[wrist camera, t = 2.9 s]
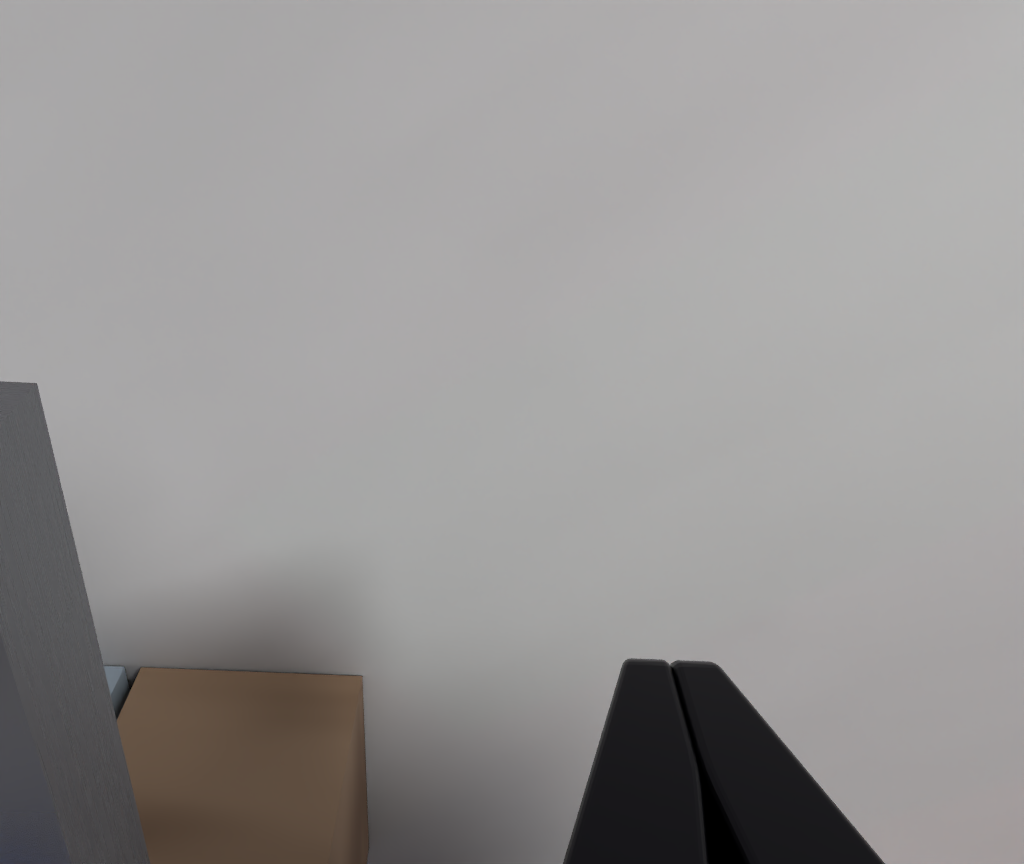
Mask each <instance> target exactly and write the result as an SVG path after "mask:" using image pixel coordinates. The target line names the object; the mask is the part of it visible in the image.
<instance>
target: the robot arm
mask: <svg viewBox="0 0 1024 864" xmlns="http://www.w3.org/2000/svg"><path fill="white" fill-rule="evenodd" d="M563 864H885V863H884V862H883V861H882V860H881V858H880V857H879V856H878V855H877V854H876V853H875V851H874V850H873V849H872V848H871V847H870V845H869V844H868V843H867V842H866V841H865V839H864V838H863V837H862V836H861V835H860V833H859V832H858V831H857V830H856V829H855V827H854V826H853V825H852V824H851V823H850V821H849V820H848V819H847V818H846V817H845V816H844V814H843V813H842V812H841V811H840V810H839V808H838V807H837V806H836V805H835V804H834V802H833V801H832V800H831V799H830V798H829V796H828V795H827V794H826V793H825V792H824V790H823V789H822V788H821V787H820V786H819V784H818V783H817V782H816V781H815V780H814V778H813V777H812V776H811V775H810V774H809V773H808V771H807V770H806V769H805V768H804V767H803V765H802V764H801V763H800V762H799V761H798V759H797V758H796V757H795V756H794V755H793V753H792V752H791V751H790V750H789V749H788V747H787V746H786V745H785V744H784V743H783V741H782V740H781V739H780V738H779V737H778V736H777V734H776V733H775V732H774V731H773V730H772V728H771V727H770V726H769V725H768V724H767V722H766V721H765V720H764V719H763V718H762V716H761V715H760V714H759V713H758V712H757V710H756V709H755V708H754V707H753V706H752V704H751V703H750V702H749V701H748V700H747V698H746V697H745V696H744V695H743V694H742V693H741V691H740V690H739V689H738V688H737V687H736V685H735V684H734V683H733V682H732V681H731V679H730V678H729V677H728V676H727V675H726V673H725V672H724V671H723V670H722V669H721V668H720V667H719V666H718V665H716V664H715V663H713V662H704V661H680V660H678V661H675V662H673V663H671V665H669V664H668V663H667V662H666V661H665V660H656V659H627V660H625V662H624V663H623V665H622V668H621V671H620V675H619V678H618V681H617V685H616V688H615V691H614V695H613V698H612V701H611V705H610V708H609V711H608V715H607V718H606V721H605V725H604V728H603V731H602V735H601V738H600V741H599V745H598V748H597V752H596V755H595V758H594V762H593V765H592V768H591V772H590V775H589V778H588V782H587V785H586V788H585V792H584V795H583V798H582V802H581V805H580V808H579V812H578V815H577V818H576V822H575V825H574V829H573V832H572V835H571V839H570V842H569V845H568V849H567V852H566V855H565V859H564V862H563Z"/></svg>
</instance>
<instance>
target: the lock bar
mask: <svg viewBox="0 0 1024 864" xmlns="http://www.w3.org/2000/svg"><path fill="white" fill-rule="evenodd" d="M0 864H150V860H149V856H148V852H147V847H146V843H145V839H144V835H143V830H142V826H141V822H140V818H139V813H138V809H137V805H136V801H135V797H134V792H133V788H132V784H131V780H130V775H129V771H128V767H127V763H126V758H125V754H124V750H123V746H122V742H121V737H120V733H119V729H118V725H117V720H116V716H115V712H114V708H113V703H112V699H111V695H110V691H109V687H108V682H107V678H106V674H105V670H104V665H103V661H102V657H101V653H100V648H99V644H98V640H97V636H96V632H95V627H94V623H93V619H92V615H91V610H90V606H89V602H88V598H87V593H86V589H85V585H84V581H83V577H82V572H81V568H80V564H79V560H78V555H77V551H76V547H75V543H74V538H73V534H72V530H71V526H70V521H69V517H68V513H67V509H66V505H65V500H64V496H63V492H62V488H61V483H60V479H59V475H58V471H57V466H56V462H55V458H54V454H53V450H52V445H51V441H50V437H49V433H48V428H47V424H46V420H45V416H44V411H43V407H42V403H41V399H40V395H39V390H38V386H37V383H21V382H0Z"/></svg>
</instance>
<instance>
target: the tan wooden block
mask: <svg viewBox="0 0 1024 864" xmlns="http://www.w3.org/2000/svg"><path fill="white" fill-rule="evenodd" d="M117 725H118V729H119V733H120V737H121V742H122V746H123V750H124V754H125V758H126V763H127V767H128V771H129V775H130V780H131V784H132V788H133V792H134V797H135V801H136V805H137V809H138V813H139V818H140V822H141V826H142V830H143V835H144V839H145V843H146V847H147V852H148V856H149V860H150V864H367V857H368V850H369V835H368V809H367V784H366V758H365V733H364V707H363V682H362V676H346V675H321V674H296V673H271V672H245V671H220V670H195V669H170V668H145V667H141V668H140V671H139V673H138V675H137V677H136V679H135V682H134V684H133V686H132V688H131V690H130V693H129V695H128V697H127V699H126V701H125V703H124V706H123V708H122V710H121V712H120V714H119V717H118V719H117Z"/></svg>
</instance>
